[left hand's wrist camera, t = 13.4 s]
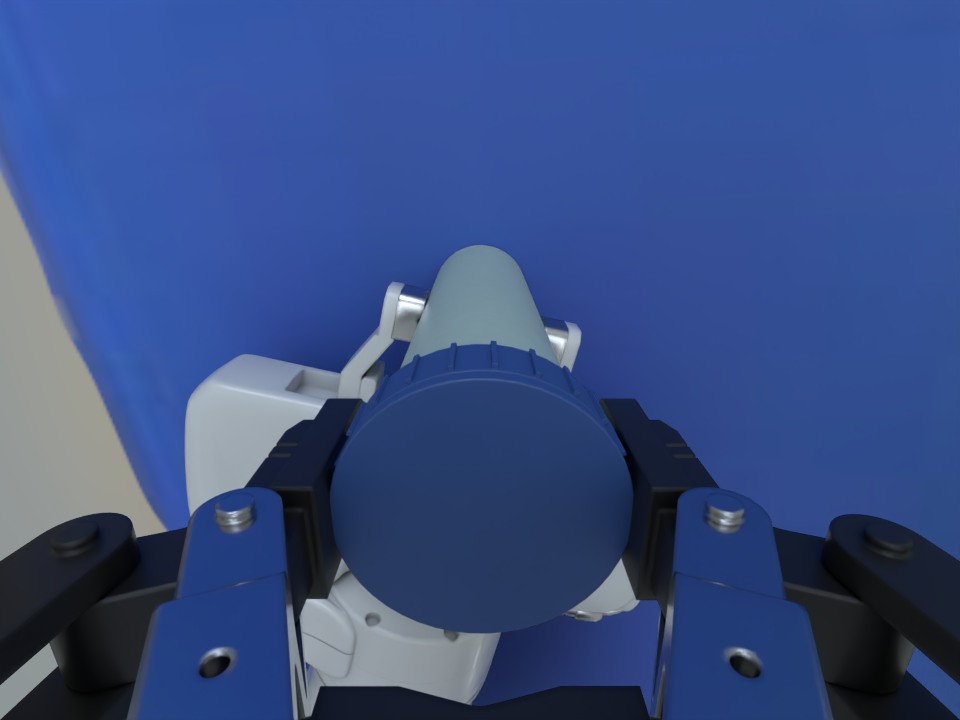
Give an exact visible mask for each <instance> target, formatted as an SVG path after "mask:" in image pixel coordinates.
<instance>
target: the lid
mask: <svg viewBox="0 0 960 720" xmlns="http://www.w3.org/2000/svg"><path fill="white" fill-rule="evenodd" d="M346 435H347V436H348V438H347V440H346V442H345V444H344V446H343V448H342V450H341V452H340V454H339V456H338V458H337V460H336V462H335V464H334V465H335V471H334V473H333V477H332V482H331V487H330V506H331V514H332V523H333V531H334V538H335V543H336V546H337V548H338V550H339V553H340V555H341V557H342V559H343V560H344V562H345V564H346V565H347V567H348V569H349V570H350V572H351V573H352V574H353V575H354V577H355V578H356V579H357V580H358V582H359V583H360V584H361V585H362V586H363V587H364V588H365V589H366V590H367V591H368V592H369V593H370V594H371V595H372V596H374V597H375V598H376V599H378V600H379V601H380V602H382V603H383V604H384V605H386V606H387V607H389V608H391V609H392V610H394V611H396V612H397V613H399V614H401V615H403V616H405V617H407V618H410V619H412V620H414V621H416V622H419V623H422V624H425V625H428V626H431V627H434V628H439V629H443V630H448V631H453V632H462V633H479V634H489V633H501V632H509V631H514V630H520V629H525V628H528V627H531V626H535V625H538V624H541V623H544V622H546V621H549V620H551V619H553V618H556V617H558V616H560V615H562V614H563V613H565V612H567V611H569V610H571V609H573V608H574V607H575V606H577V605H578V604H580V603H581V602H583V601H584V600H585V599H587V598H588V597H589V596H590V595H591V594H592V593H594V592H595V591H596V590H597V589H598V588H599V587H600V586H601V585H602V584H603V583H604V581H605V580H606V579H607V578H608V577H609V576H610V574H611V573H612V571H613V570H614V568H615V567H616V565H617V564H618V562H619V561H620V559H621V557H622V555H623V553H624V550H625V548H626V546H627V543H628V539H629V532H630V524H631V515H632V507H633V498H634V491H633V485H632V479H631V476H630V473H629V470H628V467H627V464H626V461H625V459H624V457H623V456H626V452H625V450H624V448H623V446H622V444H621V442H620V440H619V438H618V436H617V434H616V432H615V430H614V428H613V426H612V424H611V422H610V421H609V420H608V419H607V417H606V415H605V413H604V411H603V409H602V407H601V406H600V404H599V402H598V400H597V398H596V396H595V394H594V392H593V391H592V390H590V391H589V392H588V391H587V390H586V389H585V388H584V387H583V386H582V385H581V384H580V383H579V382H578V381H577V380H576V379H575V378H574V377H573V376H572V375H571V372H570V370H569V368H568V367H566V366H565V365H564V366H563V368H561V367H559V366H558V365H556V364H554V363H553V362H551V361H549V360H547V359H546V358H543V357H541V356H538V355H536V352H535V350H534V349H531V348H530V349H529V351H525V350H521V349H517V348H514V347H509V346H501V345H497V342H496V341H491V343H490V344H470V345H461V346H457V343H451V346H450V348H446V349H442V350H438V351H435V352H432V353H430V354H427V355H424V356H422V357H420V355H419V354H417V355H415V356H414V357H413V360H412V362H410V363H408V364H407V365H405V366H403V367H402V368H401V369H399V370H398V371H397V372H395V373H394V374H392V375H391V376H390V377H389V376H388V375H387V374H386V375H385V376H384V377H383V379H382V381H381V383H380V385H379V387H378V389H377V390H376V391H375V393H374V394H373V395H372V396H371V398H370V399H369V400H368V402H367V403H366V402H364V401H363V402H362V404H361V406H360V408H359V410H358V412H357V414H356V416H355V418H354V420H353V421H352V423H351V425H350V427H349V429H348V431H347V433H346Z"/></svg>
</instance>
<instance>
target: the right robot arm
mask: <svg viewBox="0 0 960 720" xmlns="http://www.w3.org/2000/svg"><path fill="white" fill-rule="evenodd" d="M428 296H429V290H426V289H422V288H418V287H414V286H410V285H406V284H403V283H398V282H392V283H391V284H390V285H389V287H388V289H387V292H386V295H385V299H384V304H383V310H382V315H381V321H380V326H379V327H378V328H377V329H376V330H375V331H374V332H373V333H372V334H371V335H370V337H369V338H368V339H367V340H366V341H365V342H364V343H363V344H362V345H361V347H360V348H359V349H358V350H357V351H356V352H355V353H354V354H353V356H352V357H351V359H350V360H349V361H348V363H347V364H346V366H345V367H344V369H343V370H342V372H341V374H340V373H335V372H331V371H326V370H322V369H317V368H312V367H308V366H303V365H299V364H294V363H289V362H285V361H280V360H276V359H271V358H266V357H262V356H258V355H253V354H243V355H240V356H238V357H236V358H234V359H233V360H231V361H230V362H228V363H227V364H225V365H223V366H222V367H220V368H219V369H217V370H216V371H215V372H213V373H212V374H211V375H210V376H209V377H207V378H206V379H205V380H204V381H203V382H202V383H201V384H200V385H199V386H198V387H197V388H196V389H195V390H194V392H193V393H192V395H191V397H190V399H189V401H188V405H187V410H186V419H185V471H186V486H187V497H188V505H189V512H190V516H191V515H192V514H193V512H194V511H195V510H196V509H197V508H198V507H199V506H201V505H202V504H203V503H205V502H206V501H208V500H209V499H211V498H213V497H215V496H217V495H220V494H222V493H225V492H228V491H231V490H235V489H240V488H244V487H245V485H246V484H247V483H248V481H249V480H250V479H251V477H252V476H253V475H254V473H255V472H256V471H257V469H258V468H259V466H260V465H261V464H262V462H263V461H264V460H265V458H266V457H268V454H269V453H270V452H271V450H272V449H273V447H274V446H276V443H277V442H278V441H279V439H280V438H281V437H282V435H283V434H284V433H285V431H286V430H288V429H289V428H291V427H293V426H294V425H296V424H297V423H299V422H300V421H302V420H314V418H315V417H316V415H317V414H318V412H319V411H320V409H321V408H322V406H323V405H324V403H325V402H326V400H327V399H328V398H361V399H362V400H363V401H364V402H366V403H367V402H368V400H369V399H370V398H371V396H372V395H373V394H374V393H375V391H376V390H377V389H378V387H379V385H380V383H381V381H382V379H383V377H384V372H385V366H386V364H385V362H384V361H381V360H377V359H378V358H379V357H380V356H381V355H382V354H383V352H384V351H385V350H386V349H387V348H388V347H389V346H390V345H391V344H392V342H393V341H394V340H395V339H397V340H402V341H407V342H411V340H412V338H413V335H414V333H415V330H416V328H417V325H418V323H419V320H420V318H421V315H422V313H423V310H424V308H425V305H426V303H427V300H428ZM541 320H542V322H543V325H544V327H545V330H546V332H547V334H548V337H549V339H550V342H551V344H552V347H553V349H554V351H555V354H556V356H557V359H558V361H559V363H560V366H561V368H563V366H564V365H565V366H566V367H568V368H569V370H570V372H571V371H572V368H573V365H574V362H575V359H576V355H577V352H578V349H579V346H580V343H581V331H580V329H579V327H578V326H577V324H574V323H570V322H565V321H561V320H557V319H552V318H547V317H543V316H541ZM639 601H640V600H636V598H635V596H634V593H633V590H632V587H631V584H630V582H629V579H628V576H627V573H626V571H625V568H624V565H623V562H622V559H620V561H619V562H618V564H617V565H616V567H615V568H614V570H613V571H612V573H611V574H610V576H609V577H608V578H607V579H606V580H605V581H604V583H603V584H602V585H601V586H600V587H599V588H598V589H597V590H596V591H595V592H594V593H592V594H591V595H590V596H589V597H588V598H587V599H585V600H584V601H583V602H581V603H580V604H578V605H577V606H575V607H574V608H573V609H571V610H569V611H567V612H565V613H563V614H562V615H565V616H572V618H574V619H577V620H580V621H586V622H598V621H601V619H602V617H603V615H614V614H618V613H621V612H623V611H630V610H632V609H633V608H634V607H635V606H636V605H637V604H638V603H639ZM300 618H301V624H302V632H303V642H304V653H305V662H307V663H308V664H310V667H309V669H308V671H307V684H308V694H309V705H310V715H311V714H312V711H313V708H314V705H315V701H316V698H317V695H318V692H319V689H320V686H400V687H404V688H408V689H412V690H415V691H419V692H423V693H427V694H431V695H434V696H438V697H442V698H446V699H450V700H454V701H457V702H461V703H465V704H469V705H472V702H473V700H474V699H475V698H476V696H477V695H478V693H479V691H480V690H481V688H482V686H483V684H484V681H485V679H486V677H487V674H488V671H489V668H490V665H491V662H492V659H493V656H494V653H495V650H496V647H497V644H498V641H499V638H500V635H501V633H489V634H479V633H462V632H453V631H448V630H443V629H439V628H434V627H431V626H428V625H425V624H422V623H419V622H416V621H414V620H412V619H410V618H407V617H405V616H403V615H401V614H399V613H397V612H396V611H394V610H392V609H391V608H389V607H387V606H386V605H384V604H383V603H382V602H380V601H379V600H378V599H376V598H375V597H374V596H372V595H371V594H370V593H369V592H368V591H367V590H366V589H365V588H364V587H363V586H362V585H361V584H360V583H359V582H358V580H357V579H356V578H355V577H354V575H353V574H352V573H351V572H350V570H349V569H348V567H347V565H346V564H345V562H344V560H343V559H341V562H340V565H339V568H338V571H337V574H336V576H335V579H334V582H333V585H332V588H331V591H330V593H329V596H328V599H307V600H306V602H305V605H304V607H303V610H302V612H301V615H300Z"/></svg>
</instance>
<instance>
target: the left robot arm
mask: <svg viewBox="0 0 960 720" xmlns="http://www.w3.org/2000/svg"><path fill="white" fill-rule="evenodd" d="M362 402H363V400H362V399H361V398H328V399H327V400H326V402H325V403H324V405H323V406H322V408H321V409H320V411H319V412H318V414H317V415H316V417H315V418H314V420H302V421H300V422H299V423H297V424H296V425H294V426H293V427H291V428H289V429H288V430H286V431H285V433H284V434H283V435H282V437H281V438H280V439H279V441H278V442H277V443H276V446H274V447H273V449H272V450H271V452H270V453H269V454H268V457H266V458H265V460H264V461H263V462H262V464H261V465H260V466H259V468H258V469H257V471H256V472H255V473H254V475H253V476H252V477H251V479H250V480H249V481H248V483H247V484H246V485H245V487H244V488H240V489H235V490H231V491H228V492H225V493H222V494H220V495H217V496H215V497H213V498H211V499H209V500H208V501H206V502H205V503H203V504H202V505H201V506H199V507H198V508H197V509H196V510H195V511H194V512H193V514H192V515H191V517H190V519H189V522H188V527H186V528H182V529H178V530H173V531H168V532H163V533H158V534H153V535H148V536H143V537H138V538H136V535H135V531H134V528H133V524H132V522H131V520H130V519H129V518H128V517H127V516H125V515H122V514H118V513H98V514H92V515H87V516H83V517H79V518H76V519H73V520H70V521H67V522H65V523H62V524H60V525H58V526H55V527H54V528H52V529H50V530H48V531H46V532H44V533H43V534H41V535H39V536H38V537H36V538H35V539H33V540H32V541H30V542H29V543H27V544H26V545H24V546H23V547H21V548H20V549H18V550H17V551H15V552H14V553H12V554H11V555H9V556H8V557H6V558H5V559H3V560H2V561H0V685H1V684H2V683H3V682H4V681H5V680H7V679H8V678H9V677H10V676H11V675H12V674H13V673H15V672H16V671H17V670H18V669H19V668H20V667H22V666H23V665H24V664H25V663H26V662H27V661H28V660H30V659H31V658H32V657H33V656H34V655H35V654H37V653H38V652H39V651H40V650H41V649H42V648H43V647H45V646H46V645H47V644H48V643H49V644H50V646H51V649H52V651H53V654H54V656H55V659H56V662H57V664H58V667H57V668H56V669H55V670H53V671H52V672H51V673H50V674H49V675H48V676H47V677H46V678H45V679H44V680H43V681H42V682H40V683H39V684H38V685H37V686H36V687H35V688H34V689H33V690H32V691H31V692H30V693H29V694H28V695H26V696H25V697H24V698H23V699H22V700H21V701H20V702H19V703H18V704H17V705H16V706H15V707H14V708H12V709H11V710H10V711H9V712H8V713H7V714H6V715H5V716H4V717H3V718H2V719H1V720H959V719H958V718H957V717H956V716H955V715H954V714H953V713H952V712H951V711H950V710H949V709H948V708H947V707H945V706H944V705H943V704H942V703H941V702H940V701H939V700H938V699H937V698H936V697H935V696H934V695H932V694H931V693H930V692H929V691H928V690H927V689H926V688H925V687H924V686H923V685H922V684H921V683H920V682H918V681H917V680H916V679H915V678H914V677H913V676H912V675H911V674H910V673H909V672H908V671H907V667H908V665H909V662H910V660H911V657H912V654H913V652H914V649H915V647H917V648H918V649H919V650H920V651H921V652H922V653H923V654H925V655H926V656H927V657H928V658H929V659H930V660H932V661H933V662H934V663H935V664H936V665H937V666H938V667H940V668H941V669H942V670H943V671H944V672H945V673H947V674H948V675H949V676H950V677H951V678H952V679H953V680H955V681H956V682H957V683H958V684H959V685H960V561H959V560H957V559H955V558H954V557H952V556H951V555H949V554H948V553H946V552H945V551H943V550H942V549H940V548H939V547H937V546H936V545H934V544H933V543H931V542H930V541H928V540H927V539H925V538H924V537H922V536H920V535H919V534H917V533H915V532H914V531H912V530H910V529H908V528H906V527H903V526H901V525H899V524H896V523H894V522H891V521H888V520H885V519H881V518H878V517H873V516H868V515H860V514H848V515H842V516H838V517H836V518H834V519H833V520H832V521H831V523H830V526H829V529H828V533H827V536H826V538H822V537H817V536H812V535H807V534H802V533H797V532H792V531H787V530H783V529H778V528H775V527H772V522H771V519H770V517H769V515H768V514H767V512H766V511H765V510H764V509H763V508H762V507H761V506H759V505H758V504H757V503H755V502H754V501H752V500H751V499H749V498H747V497H745V496H743V495H740V494H738V493H735V492H732V491H729V490H725V489H720V488H719V486H718V485H717V484H716V482H715V481H714V480H713V478H712V477H711V476H710V474H709V473H708V472H707V470H706V469H705V468H704V466H703V465H702V464H701V462H700V461H699V460H698V458H695V454H694V453H693V452H692V450H691V449H690V448H689V447H687V444H686V442H685V441H684V440H683V438H682V437H681V436H680V434H679V433H678V432H677V431H676V430H675V429H673V428H671V427H670V426H668V425H667V424H665V423H663V422H662V421H660V420H649V419H648V417H647V416H646V414H645V413H644V411H643V410H642V408H641V407H640V405H639V404H638V402H637V401H636V400H635V399H601V400H600V402H599V404H600V406H601V407H602V409H603V411H604V413H605V415H606V417H607V419H608V420H609V421H610V422H611V424H612V426H613V428H614V430H615V432H616V434H617V436H618V438H619V440H620V442H621V444H622V446H623V448H624V450H625V452H626V456H623V457H624V459H625V461H626V464H627V467H628V470H629V473H630V476H631V479H632V485H633V491H634V498H633V507H632V515H631V524H630V532H629V539H628V543H627V546H626V548H625V550H624V553H623V555H622V557H621V559H622V562H623V565H624V568H625V571H626V573H627V576H628V579H629V582H630V584H631V587H632V590H633V593H634V596H635V598H636V600H657V601H658V603H659V606H660V608H661V611H660V618H659V624H658V632H657V642H656V653H655V663H654V673H653V684H652V694H651V705H650V715H649V714H648V711H647V708H646V705H645V701H644V698H643V695H642V692H641V689H640V686H560V687H556V688H552V689H548V690H545V691H541V692H537V693H533V694H529V695H526V696H522V697H518V698H514V699H510V700H506V701H503V702H499V703H495V704H491V705H487V706H473V705H469V704H465V703H461V702H457V701H454V700H450V699H446V698H442V697H438V696H434V695H431V694H427V693H423V692H419V691H415V690H412V689H408V688H404V687H400V686H320V689H319V692H318V695H317V698H316V701H315V705H314V708H313V711H312V714H311V715H310V705H309V694H308V684H307V673H306V663H305V653H304V642H303V632H302V624H301V618H300V615H301V612H302V610H303V607H304V605H305V602H306V600H307V599H328V596H329V593H330V591H331V588H332V585H333V582H334V579H335V576H336V574H337V571H338V568H339V565H340V562H341V559H342V557H341V555H340V553H339V550H338V548H337V546H336V543H335V538H334V531H333V523H332V514H331V506H330V487H331V482H332V477H333V473H334V471H335V465H334V464H335V462H336V460H337V458H338V456H339V454H340V452H341V450H342V448H343V446H344V444H345V442H346V440H347V438H348V436H347V435H346V433H347V431H348V429H349V427H350V425H351V423H352V421H353V420H354V418H355V416H356V414H357V412H358V410H359V408H360V406H361V404H362Z"/></svg>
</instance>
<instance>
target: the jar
mask: <svg viewBox="0 0 960 720" xmlns="http://www.w3.org/2000/svg"><path fill="white" fill-rule="evenodd" d="M491 341H496V342H497V345H501V346H509V347H514V348H517V349H521V350H525V351H529V349H530V348H531V349H534V350H535V352H536V355H538V356H541V357H543V358H546V359H547V360H549V361H551V362H553V363H554V364H556V365H558V366H559V367H561V366H560V363H559V361H558V359H557V356H556V354H555V351H554V349H553V347H552V344H551V342H550V339H549V337H548V334H547V332H546V330H545V327H544V325H543V322H542V320H541V317H540V315H539V313H538V310H537V308H536V305H535V303H534V300H533V298H532V296H531V293H530V291H529V288H528V286H527V283H526V281H525V279H524V276H523V274H522V271H521V269H520V268H519V266H518V264H517V263H516V262H515V260H514V259H513V258H512V257H511V256H509V255H508V254H507V253H505V252H504V251H502V250H500V249H498V248H495V247H492V246H487V245H474V246H469V247H466V248H463V249H461V250H459V251H457V252H455V253H454V254H453V255H451V256H450V257H449V258H448V259H447V260H446V261H445V263H444V264H443V265H442V267H441V269H440V271H439V273H438V275H437V278H436V280H435V283H434V285H433V288H432V290H431V293H430V295H429V298H428V300H427V303H426V305H425V308H424V310H423V313H422V315H421V318H420V320H419V323H418V325H417V328H416V330H415V333H414V335H413V338H412V340H411V343H410V345H409V348H408V350H407V353H406V355H405V358H404V360H403V363H402V365H401V368H402V367H403V366H405V365H407V364H408V363H410V362H412V360H413V357H414V356H415V355H417V354H419V355H420V357H422V356H424V355H427V354H430V353H432V352H435V351H438V350H442V349H446V348H450V346H451V343H457V346H461V345H470V344H490V343H491ZM401 368H400V369H401Z"/></svg>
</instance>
